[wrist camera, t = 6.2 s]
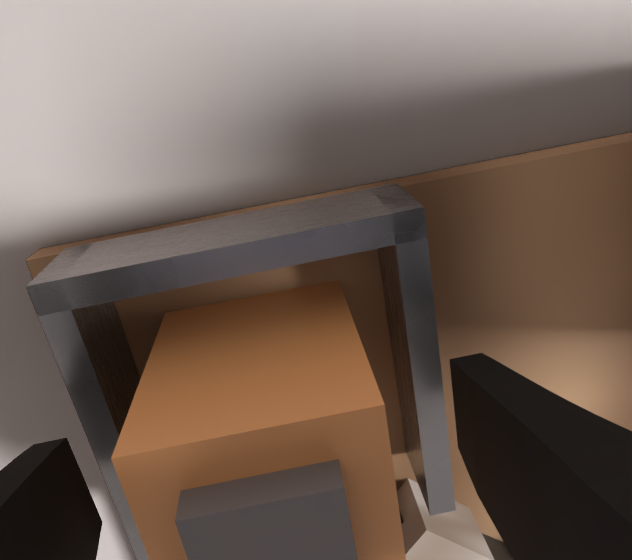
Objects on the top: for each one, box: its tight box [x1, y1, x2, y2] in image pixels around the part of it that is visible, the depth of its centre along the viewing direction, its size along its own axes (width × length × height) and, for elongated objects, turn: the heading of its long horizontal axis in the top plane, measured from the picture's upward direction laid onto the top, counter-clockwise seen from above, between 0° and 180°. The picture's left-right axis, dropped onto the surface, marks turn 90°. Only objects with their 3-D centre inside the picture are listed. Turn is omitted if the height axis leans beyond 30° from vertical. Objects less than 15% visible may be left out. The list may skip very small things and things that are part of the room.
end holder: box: [26, 183, 456, 560], centre depth 12 cm, size 7×7×2 cm
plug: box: [111, 280, 406, 560], centre depth 11 cm, size 4×4×6 cm
